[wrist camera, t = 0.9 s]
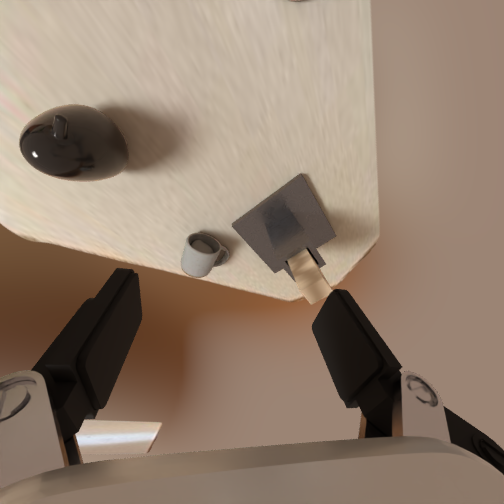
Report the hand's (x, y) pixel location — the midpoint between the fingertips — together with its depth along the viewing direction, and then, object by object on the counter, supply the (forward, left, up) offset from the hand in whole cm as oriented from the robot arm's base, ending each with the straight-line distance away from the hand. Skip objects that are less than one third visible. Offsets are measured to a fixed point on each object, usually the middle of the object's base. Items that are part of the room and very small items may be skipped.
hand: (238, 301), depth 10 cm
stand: (-1, +19, -35) cm, 40 cm away
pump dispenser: (+15, -16, -35) cm, 42 cm away
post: (-1, +19, -33) cm, 38 cm away
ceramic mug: (+17, +12, -36) cm, 41 cm away
